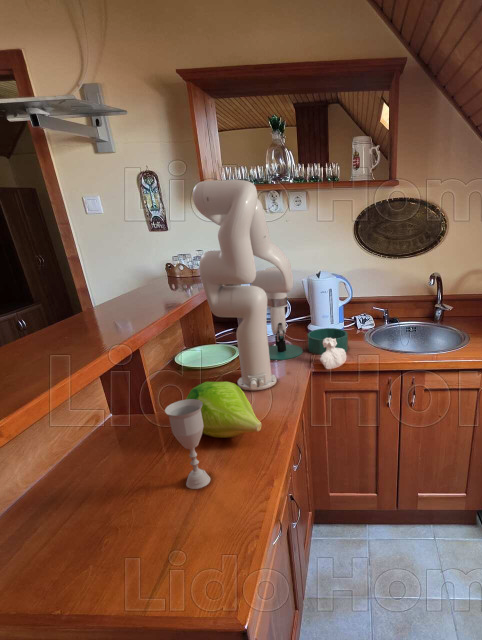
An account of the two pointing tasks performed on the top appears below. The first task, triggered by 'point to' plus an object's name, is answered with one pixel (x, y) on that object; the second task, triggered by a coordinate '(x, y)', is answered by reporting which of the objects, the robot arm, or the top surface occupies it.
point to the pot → (319, 335)
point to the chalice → (189, 435)
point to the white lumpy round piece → (332, 354)
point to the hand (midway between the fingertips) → (280, 347)
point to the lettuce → (224, 409)
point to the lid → (285, 352)
